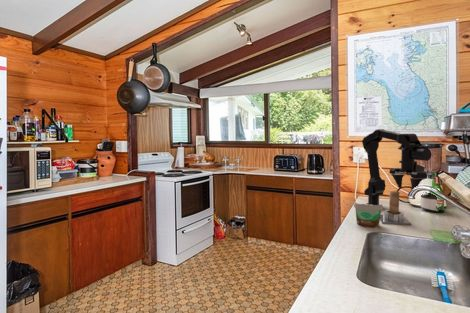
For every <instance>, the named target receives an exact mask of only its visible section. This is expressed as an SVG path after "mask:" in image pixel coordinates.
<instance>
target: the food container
mask: <svg viewBox="0 0 470 313" xmlns="http://www.w3.org/2000/svg"><path fill="white" fill-rule="evenodd" d="M353 204H354V205H353V207H354V208H355V218H356V224H357V225H358V226H361V227H364V228H365V227H366V228H378V227H379V225H380V215H381V212H382V210H383V209H384V207H383V204H382V203H381V204H379V205H372V204H367V203H363V204H361V203H357V202H356V201H355V202H354V203H353Z"/></svg>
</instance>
